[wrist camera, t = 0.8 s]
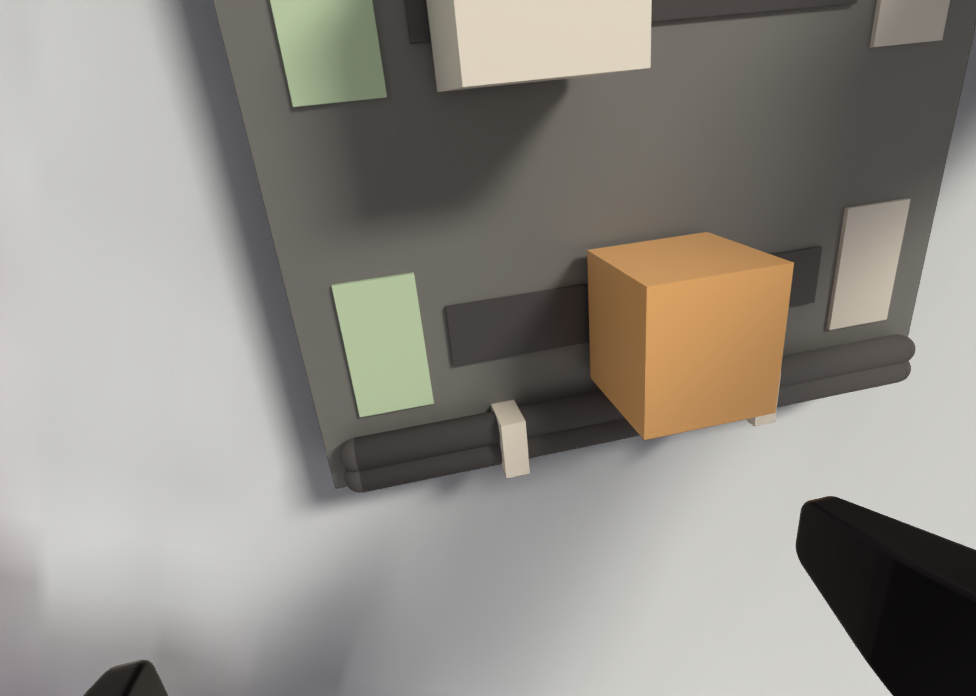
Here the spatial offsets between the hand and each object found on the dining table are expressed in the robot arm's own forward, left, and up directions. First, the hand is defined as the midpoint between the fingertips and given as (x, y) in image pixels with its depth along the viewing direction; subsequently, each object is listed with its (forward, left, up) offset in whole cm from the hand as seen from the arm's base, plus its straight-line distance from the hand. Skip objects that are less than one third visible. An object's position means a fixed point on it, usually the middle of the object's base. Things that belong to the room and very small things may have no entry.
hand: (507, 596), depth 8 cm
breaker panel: (-7, -3, -13) cm, 15 cm away
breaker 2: (-7, +1, -11) cm, 13 cm away
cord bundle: (-7, +4, -11) cm, 14 cm away
